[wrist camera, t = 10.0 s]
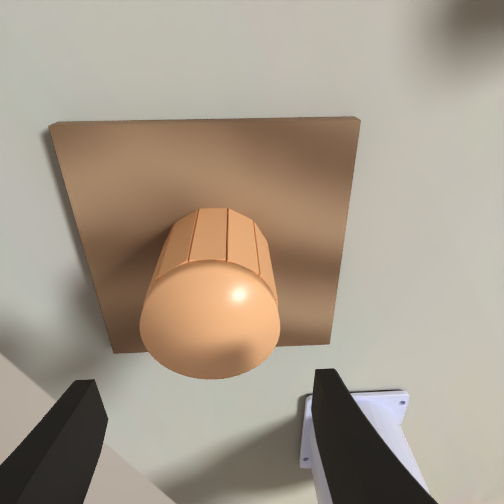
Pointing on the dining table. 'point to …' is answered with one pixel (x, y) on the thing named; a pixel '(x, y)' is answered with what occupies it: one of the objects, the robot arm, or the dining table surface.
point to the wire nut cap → (212, 297)
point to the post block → (211, 205)
